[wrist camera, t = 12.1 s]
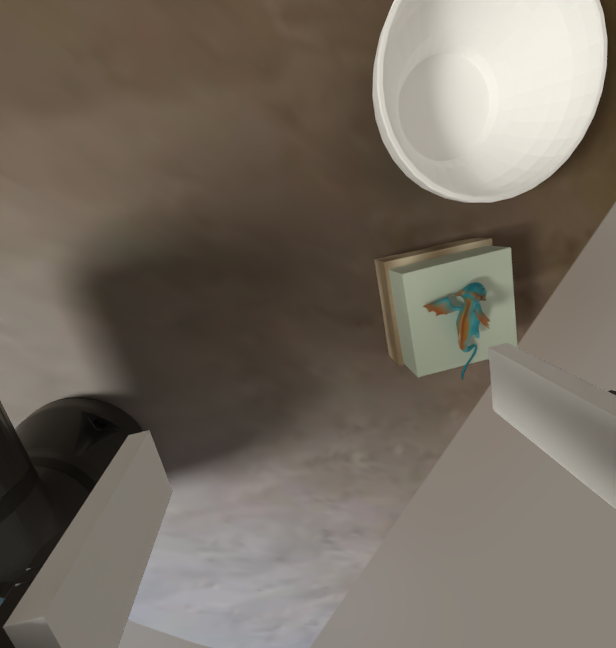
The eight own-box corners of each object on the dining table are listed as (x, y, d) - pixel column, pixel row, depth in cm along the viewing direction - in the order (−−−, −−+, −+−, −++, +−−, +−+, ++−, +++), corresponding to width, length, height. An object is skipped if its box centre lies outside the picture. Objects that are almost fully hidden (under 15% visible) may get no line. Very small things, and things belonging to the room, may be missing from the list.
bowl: (466, -50, 35) (537, -148, 26) (559, 127, 40) (645, 97, 31) (310, 92, 37) (326, 48, 27) (419, 244, 42) (462, 249, 33)
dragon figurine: (527, 331, 37) (513, 279, 32) (494, 392, 35) (474, 346, 30) (465, 317, 41) (445, 270, 36) (433, 369, 40) (407, 327, 35)
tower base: (387, 354, 45) (398, 366, 42) (373, 258, 42) (384, 262, 38) (478, 332, 46) (498, 342, 42) (471, 237, 43) (491, 238, 39)
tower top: (403, 363, 42) (417, 377, 38) (388, 269, 39) (402, 274, 35) (494, 339, 42) (517, 351, 38) (486, 245, 39) (510, 247, 35)
